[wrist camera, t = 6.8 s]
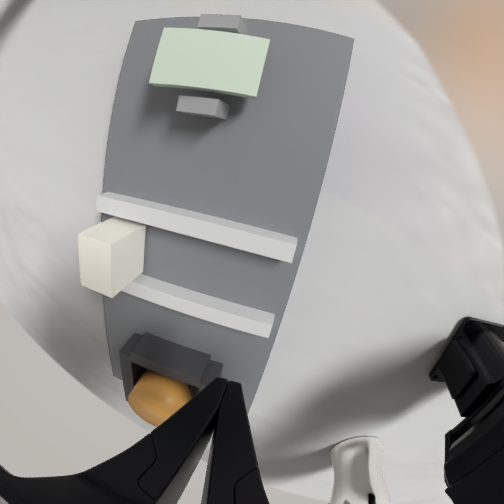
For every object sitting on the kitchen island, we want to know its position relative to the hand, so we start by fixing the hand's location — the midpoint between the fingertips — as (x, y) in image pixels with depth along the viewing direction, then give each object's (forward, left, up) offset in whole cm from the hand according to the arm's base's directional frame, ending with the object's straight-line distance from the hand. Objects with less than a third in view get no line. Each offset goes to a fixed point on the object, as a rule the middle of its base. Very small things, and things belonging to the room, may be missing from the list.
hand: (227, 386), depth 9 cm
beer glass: (-15, +19, -11) cm, 27 cm away
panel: (+5, 0, -10) cm, 11 cm away
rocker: (+5, -11, -7) cm, 14 cm away
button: (+5, +11, -6) cm, 13 cm away
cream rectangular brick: (+9, 0, -8) cm, 12 cm away
